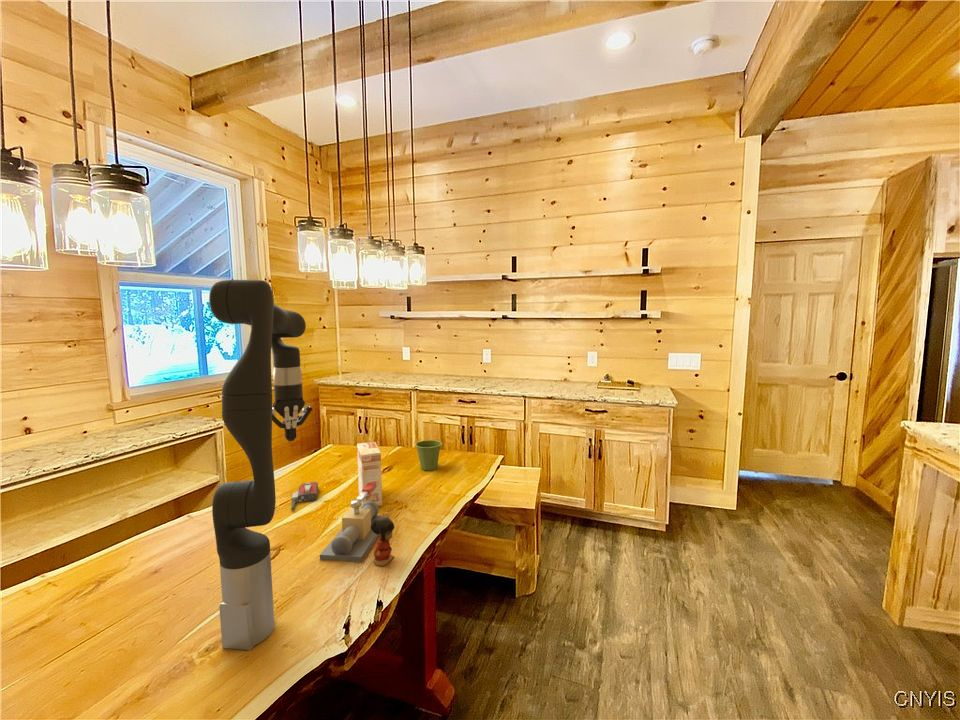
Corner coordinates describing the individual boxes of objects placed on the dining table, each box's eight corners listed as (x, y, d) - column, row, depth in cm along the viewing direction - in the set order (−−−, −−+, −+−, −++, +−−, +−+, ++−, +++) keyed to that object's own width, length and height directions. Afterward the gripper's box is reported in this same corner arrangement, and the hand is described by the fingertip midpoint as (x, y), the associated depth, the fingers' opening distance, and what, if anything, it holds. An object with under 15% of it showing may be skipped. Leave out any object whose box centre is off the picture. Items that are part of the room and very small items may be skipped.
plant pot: (447, 466, 187) (447, 442, 186) (431, 475, 177) (430, 449, 176) (427, 461, 193) (426, 438, 192) (410, 469, 183) (409, 444, 182)
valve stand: (361, 562, 114) (360, 527, 113) (319, 559, 115) (318, 525, 114) (388, 519, 138) (388, 490, 137) (354, 518, 139) (353, 489, 138)
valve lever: (359, 509, 124) (359, 503, 123) (349, 508, 124) (348, 502, 124) (377, 487, 139) (376, 482, 139) (367, 487, 139) (367, 482, 139)
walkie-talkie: (294, 490, 162) (289, 513, 143) (294, 479, 161) (288, 501, 142) (318, 487, 165) (316, 509, 146) (318, 477, 164) (315, 497, 145)
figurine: (371, 568, 111) (370, 525, 110) (371, 557, 116) (370, 516, 115) (395, 564, 113) (394, 522, 111) (394, 553, 118) (393, 513, 117)
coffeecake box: (382, 505, 148) (381, 452, 146) (362, 509, 145) (360, 455, 143) (377, 489, 162) (375, 441, 160) (358, 492, 159) (356, 443, 157)
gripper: (266, 386, 113) (269, 448, 115) (315, 381, 121) (318, 439, 123) (259, 383, 119) (263, 441, 120) (307, 378, 127) (309, 433, 129)
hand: (290, 440), depth 122 cm, fingers closed
